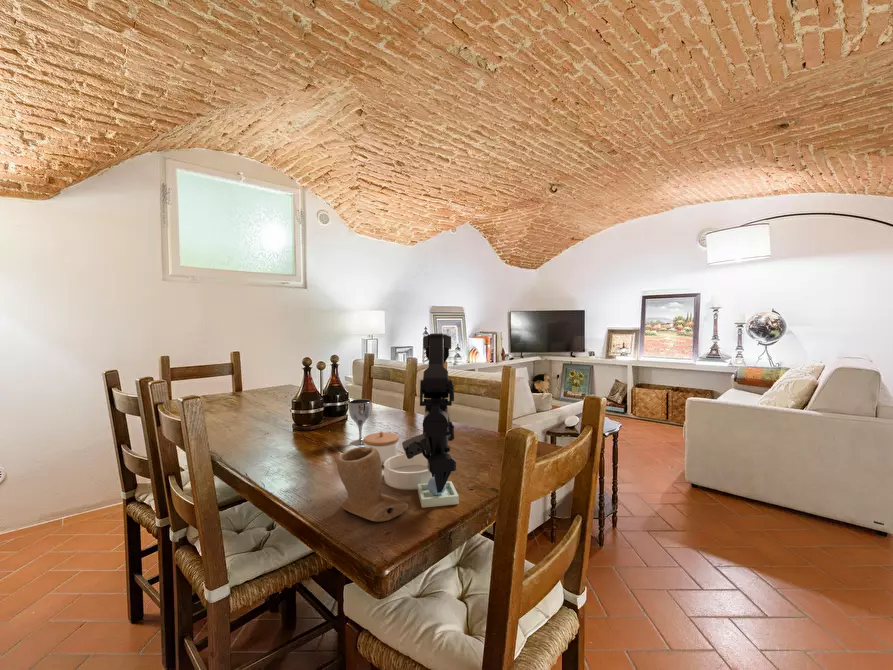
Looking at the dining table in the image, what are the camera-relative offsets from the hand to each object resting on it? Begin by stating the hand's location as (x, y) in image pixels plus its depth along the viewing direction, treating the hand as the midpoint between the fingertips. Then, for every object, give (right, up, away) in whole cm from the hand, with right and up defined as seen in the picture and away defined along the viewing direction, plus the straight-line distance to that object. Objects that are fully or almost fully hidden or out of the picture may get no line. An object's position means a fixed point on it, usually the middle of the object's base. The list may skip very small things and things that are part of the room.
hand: (437, 486), depth 104 cm
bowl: (-7, -2, +12) cm, 15 cm away
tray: (0, -3, 0) cm, 3 cm away
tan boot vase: (-16, -4, -7) cm, 18 cm away
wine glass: (-29, -1, +45) cm, 53 cm away
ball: (0, 0, 0) cm, 0 cm away
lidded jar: (-18, -2, +26) cm, 31 cm away
